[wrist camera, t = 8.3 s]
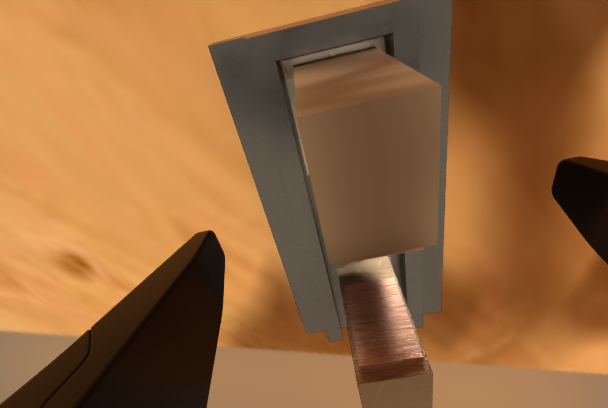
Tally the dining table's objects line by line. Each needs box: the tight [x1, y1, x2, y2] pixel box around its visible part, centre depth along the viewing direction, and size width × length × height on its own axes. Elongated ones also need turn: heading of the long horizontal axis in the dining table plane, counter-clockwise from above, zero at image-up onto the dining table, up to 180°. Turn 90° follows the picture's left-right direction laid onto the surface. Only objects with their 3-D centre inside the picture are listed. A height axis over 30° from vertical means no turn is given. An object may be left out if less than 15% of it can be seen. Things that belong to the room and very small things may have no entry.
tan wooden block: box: [293, 47, 442, 265], centre depth 12 cm, size 4×6×7 cm, turn 12°
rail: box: [208, 0, 453, 408], centre depth 16 cm, size 10×20×8 cm, turn 12°
